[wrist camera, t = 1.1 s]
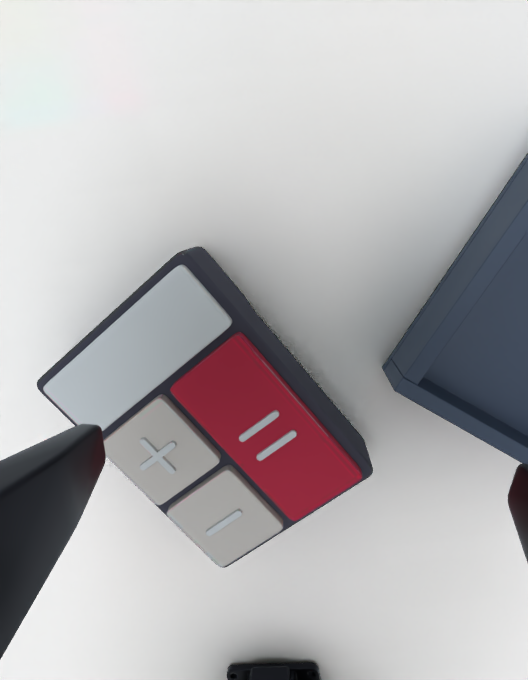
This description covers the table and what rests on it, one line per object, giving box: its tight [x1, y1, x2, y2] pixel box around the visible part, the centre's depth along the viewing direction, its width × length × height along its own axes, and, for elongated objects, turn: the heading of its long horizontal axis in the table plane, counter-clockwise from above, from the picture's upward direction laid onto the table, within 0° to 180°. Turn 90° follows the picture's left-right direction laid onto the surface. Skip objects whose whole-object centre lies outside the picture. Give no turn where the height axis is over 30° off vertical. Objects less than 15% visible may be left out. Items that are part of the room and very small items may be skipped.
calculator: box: [37, 247, 373, 567], centre depth 23 cm, size 11×4×15 cm
